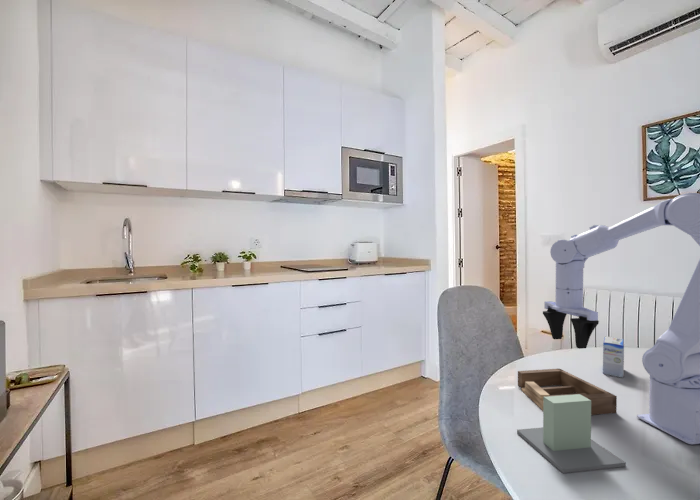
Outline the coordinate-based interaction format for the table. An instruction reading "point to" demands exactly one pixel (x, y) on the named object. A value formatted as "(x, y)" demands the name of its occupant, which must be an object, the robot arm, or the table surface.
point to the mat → (572, 454)
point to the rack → (570, 388)
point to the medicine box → (613, 356)
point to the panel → (566, 422)
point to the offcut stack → (535, 393)
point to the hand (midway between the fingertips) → (568, 343)
